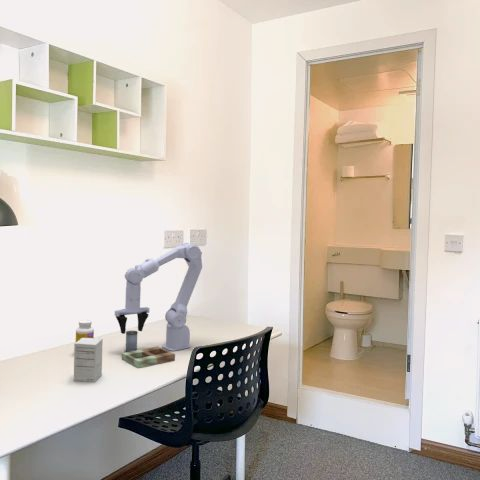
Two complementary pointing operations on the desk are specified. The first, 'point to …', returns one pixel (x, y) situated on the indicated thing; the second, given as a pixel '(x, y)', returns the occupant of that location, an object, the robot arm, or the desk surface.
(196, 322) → the desk surface
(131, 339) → the tube
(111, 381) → the desk surface
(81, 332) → the supplement bottle
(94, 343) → the supplement box
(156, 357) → the rack
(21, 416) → the desk surface
